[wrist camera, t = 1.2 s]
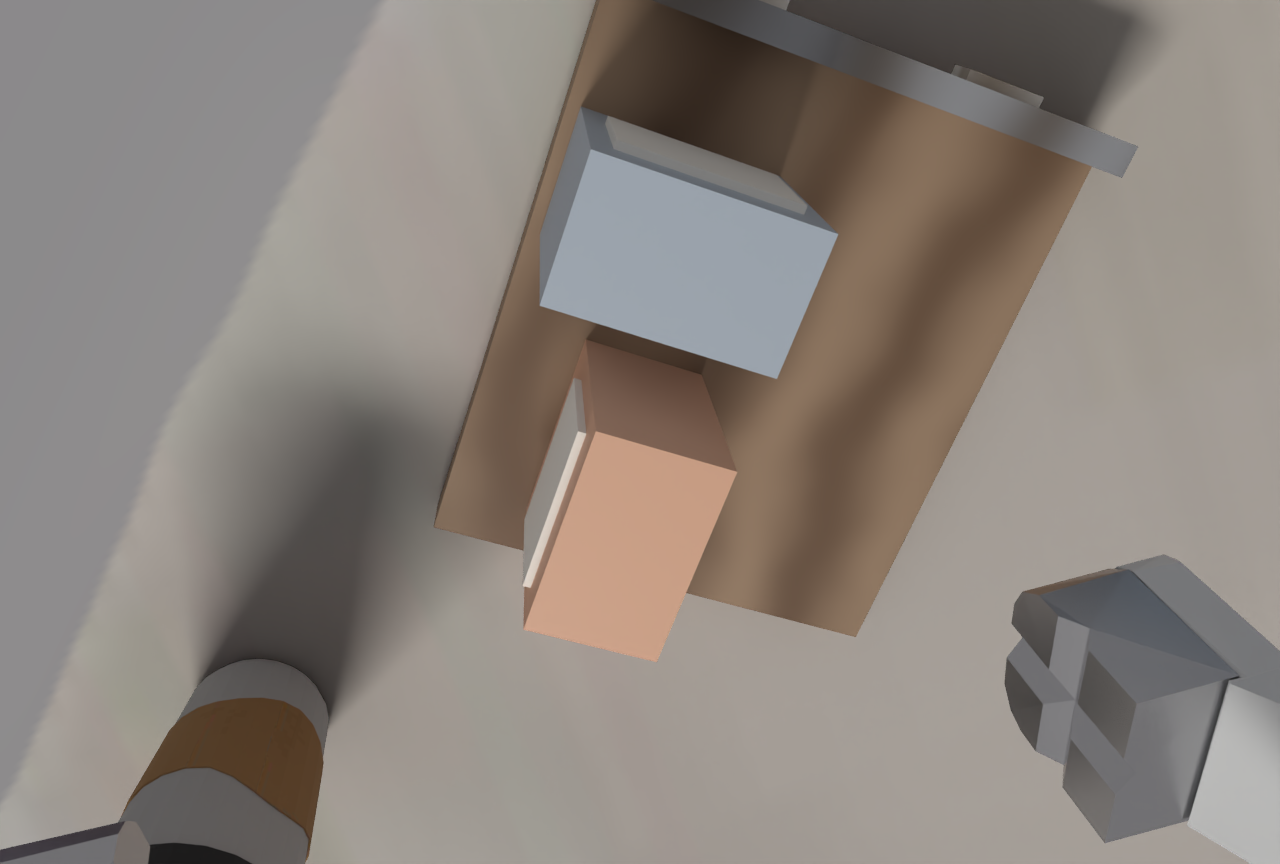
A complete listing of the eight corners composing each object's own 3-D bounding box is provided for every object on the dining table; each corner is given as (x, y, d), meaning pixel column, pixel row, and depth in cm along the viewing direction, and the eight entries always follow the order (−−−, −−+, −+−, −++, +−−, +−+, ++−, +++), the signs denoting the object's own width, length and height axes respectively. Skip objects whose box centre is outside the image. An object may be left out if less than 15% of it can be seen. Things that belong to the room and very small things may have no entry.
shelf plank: (1088, 117, 44) (1143, 136, 40) (844, 612, 53) (869, 668, 49) (616, -66, 40) (625, -66, 36) (437, 504, 49) (428, 556, 45)
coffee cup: (133, 706, 52) (-14, 982, 38) (256, 603, 50) (149, 853, 36) (268, 804, 55) (177, 1093, 41) (388, 711, 53) (335, 979, 39)
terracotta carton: (701, 374, 45) (737, 472, 37) (637, 538, 48) (656, 662, 40) (578, 337, 44) (587, 428, 36) (519, 506, 47) (515, 627, 39)
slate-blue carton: (732, 296, 44) (776, 379, 36) (539, 234, 42) (539, 305, 34) (783, 168, 42) (842, 224, 34) (583, 98, 40) (594, 139, 32)
